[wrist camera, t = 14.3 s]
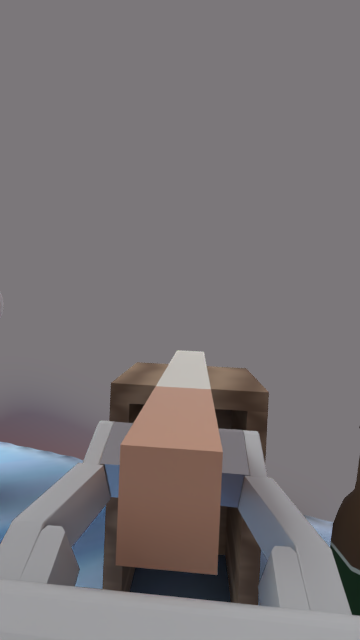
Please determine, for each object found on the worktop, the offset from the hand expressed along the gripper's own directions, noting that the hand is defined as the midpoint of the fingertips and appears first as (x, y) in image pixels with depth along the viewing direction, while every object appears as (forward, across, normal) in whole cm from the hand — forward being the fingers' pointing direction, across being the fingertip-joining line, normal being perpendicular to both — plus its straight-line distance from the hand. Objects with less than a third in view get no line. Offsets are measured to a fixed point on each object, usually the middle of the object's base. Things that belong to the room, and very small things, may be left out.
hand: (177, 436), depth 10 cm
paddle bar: (+5, 0, +5) cm, 7 cm away
